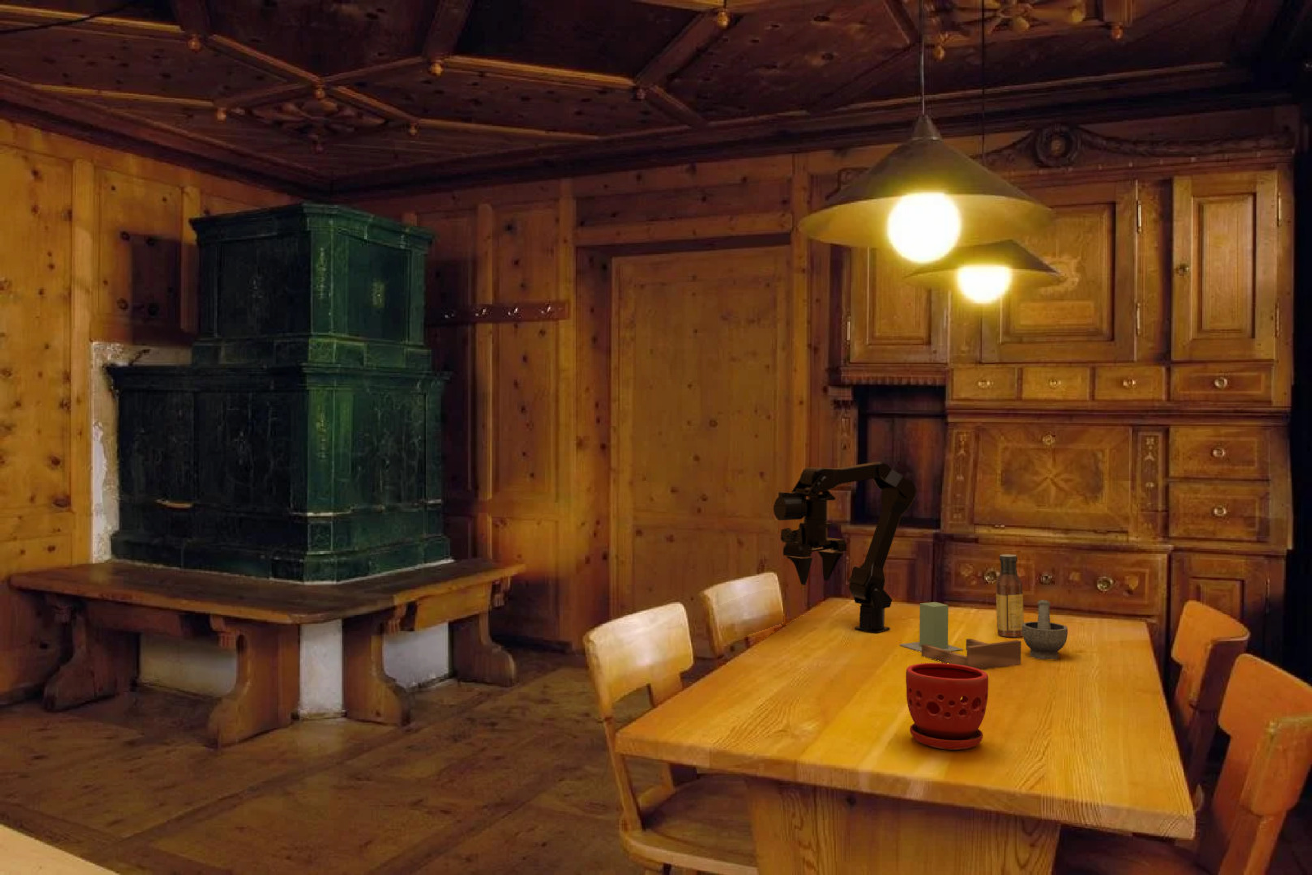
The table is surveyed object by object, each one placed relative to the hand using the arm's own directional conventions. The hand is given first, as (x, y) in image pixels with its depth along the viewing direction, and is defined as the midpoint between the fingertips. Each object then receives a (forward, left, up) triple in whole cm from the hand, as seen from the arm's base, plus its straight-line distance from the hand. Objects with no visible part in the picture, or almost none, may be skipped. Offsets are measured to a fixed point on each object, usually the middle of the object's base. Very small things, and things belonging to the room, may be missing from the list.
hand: (814, 582), depth 244 cm
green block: (-9, +27, -13) cm, 31 cm away
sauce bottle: (-35, +33, -13) cm, 50 cm away
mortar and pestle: (-21, +48, -13) cm, 54 cm away
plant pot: (+49, +63, -13) cm, 81 cm away
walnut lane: (-5, +38, -13) cm, 40 cm away
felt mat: (-9, +26, -13) cm, 31 cm away
